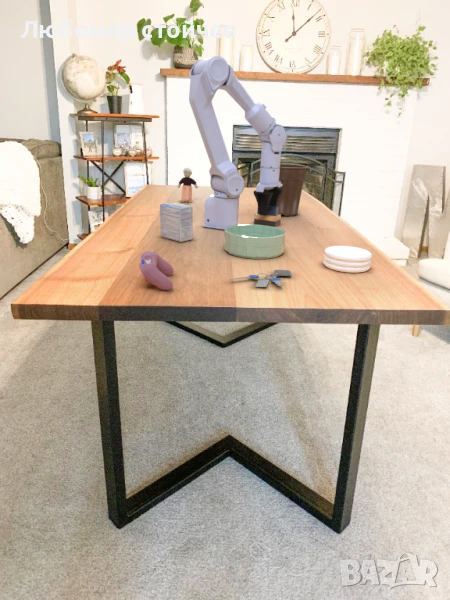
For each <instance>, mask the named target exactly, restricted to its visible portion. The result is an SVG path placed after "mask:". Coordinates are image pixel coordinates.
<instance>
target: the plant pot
mask: <svg viewBox="0 0 450 600" xmlns="http://www.w3.org/2000/svg"><path fill="white" fill-rule="evenodd" d="M259 167H261V163H260V164H259ZM308 169H309V166H308V165H307V166H306V165H301V164H300V165H299V164H286V163H280V173H279V181H281V184H282V186H281V187H280V188H278V189H283V192H282V193H281V195H280V197H279V199H278V202H277V205H276V206H278V207H279V212H278V214H281V215H283V216H284V217H293V216H294V217H295V216H296V215H298V213H299V207H300V202H301V196H302V191H303V187H304V186H303V185H304V180H306V176H307V171H308Z"/></svg>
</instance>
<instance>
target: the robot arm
mask: <svg viewBox="0 0 450 600" xmlns="http://www.w3.org/2000/svg"><path fill="white" fill-rule="evenodd" d="M188 76H189V93H188V101H189V105H190V108H191V110H192V114H193V116H194V117H193V118H194V119H195V122H196V125H197V128H198V131H199V134H200V137H201V140H202V142H203V145H204V148H205V152H206V154H207V157H208V159H209V163H210V168H209V170H208V172H209V173H208V174H209V176H210V179H209V180H210V181H209V182H210V188H211V189H212V190H213V194H210V195H208V196H207V197H206V199H205V202H204V220H203V221H204V223H203V225H202V227H204V228H209V229H210V228H211V229H217V230H223V231H225V229H226V228H227V227H230V226H234V225H243V224H241V223H239V208H240V196H241V194H242V193H243V192H244V190H245V180H244V178H243V177H242V175H241V174H240V173H239V171H238V168H237V167H236V165H235V164H234V163H233V162H232V160H231V158H230V156H229V151H228V149H227V147H226V143H225V139H224V137H223V134H222V131H221V127H220V124H219V121H218V118H217V115H216V112H215V108H214V106H213V99H214V97H215V95H216V94H217V91H218V90H222V91H225V92H226V93H227V94H228V95H229V96H230V97H231V98H232V99H233V100H234V101H235V103H236V104H237V105H238V106H239V107H240V108H241V109H242V110H243V111H244V119H245V120H246V121H247V123H248V124H249V125H250V126H251V127H252V128H253V130H254V131H255V132H256V133H257V138H258V141H259V142H260V143H261V154H260V164H261V166H260V169H259V182H258V183H257V184H256V186H255V190H253V195H254V198H255V200H256V205H257V211H258V210H259V215H263V216H266V215H267V212H268V207H269V205H270V206H276V205H277V202H278V199H279V197H280V195H281V193H282V192H283V189H278V188H280V187H281V186H282V184H281V181H279V173H280V164H281V160H282V150H283V146H284V144H285V142H286V141H287V137H288V134H286V130H285V127H284V126H283V125H281V124H279V123H277V119H275V117H273V116H272V115H271V114H270V113H269V111H268V110H267V106H266V105H265V104H264V103H261V102H255V101H254V100H253V98H252V96H251V95H250V94H249V93H248V91H247V90H246V88H245V87H244V86H243V84H242V83H241V81H240V80H239V78H238V77H237V76H236V74H235V71H234V69H233V67H232V66H231V65H230V64H229V63H228V61H227V60H226V59H225V58H224V57H223V56H220V55H214V56H212V57H209V58H208V57H207V58H204V59H203V58H202V59H198V60H196V61H195V62H194V63H193V65H192V67H191V68H190V71H189V73H188Z"/></svg>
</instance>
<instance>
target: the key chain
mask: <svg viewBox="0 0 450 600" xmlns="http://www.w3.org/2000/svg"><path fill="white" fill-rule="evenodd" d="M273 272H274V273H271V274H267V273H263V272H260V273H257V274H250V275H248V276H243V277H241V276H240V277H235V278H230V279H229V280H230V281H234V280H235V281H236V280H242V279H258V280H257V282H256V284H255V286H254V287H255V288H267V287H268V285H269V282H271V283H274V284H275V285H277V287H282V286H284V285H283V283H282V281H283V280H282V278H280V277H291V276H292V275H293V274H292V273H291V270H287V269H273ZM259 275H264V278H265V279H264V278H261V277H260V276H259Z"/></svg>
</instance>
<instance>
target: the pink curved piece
mask: <svg viewBox="0 0 450 600" xmlns="http://www.w3.org/2000/svg"><path fill="white" fill-rule="evenodd" d="M138 267H139V270H140V272H141V274H142V276H143V278H144V279H145V280H146V281H147V282H148V283H149V284H150V285H151V286H154V287H157V288H158V289H159V290H162V291H171V289H173V281H172V280H171V279H170V276H172V275H173V274H174V272H175V271H174V267H173V266H172V265H171V264H170V263H169V262H168V261H167V260H165V259H163V258H162V257H161V256H160V254H158V252H155V251H154V249H152V250H147V251H145V252H142V253H141V254H140V263H139V264H138Z"/></svg>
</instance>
